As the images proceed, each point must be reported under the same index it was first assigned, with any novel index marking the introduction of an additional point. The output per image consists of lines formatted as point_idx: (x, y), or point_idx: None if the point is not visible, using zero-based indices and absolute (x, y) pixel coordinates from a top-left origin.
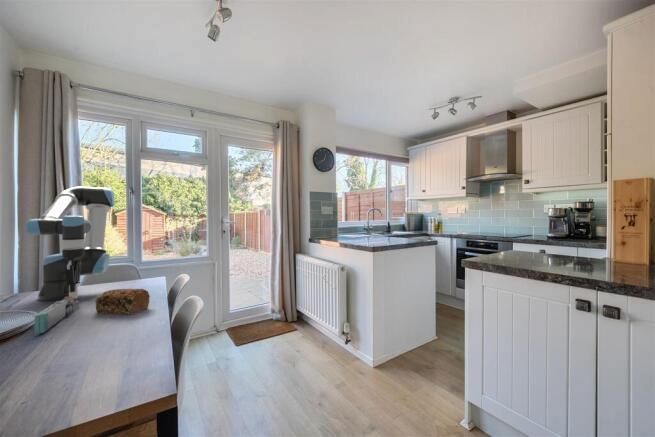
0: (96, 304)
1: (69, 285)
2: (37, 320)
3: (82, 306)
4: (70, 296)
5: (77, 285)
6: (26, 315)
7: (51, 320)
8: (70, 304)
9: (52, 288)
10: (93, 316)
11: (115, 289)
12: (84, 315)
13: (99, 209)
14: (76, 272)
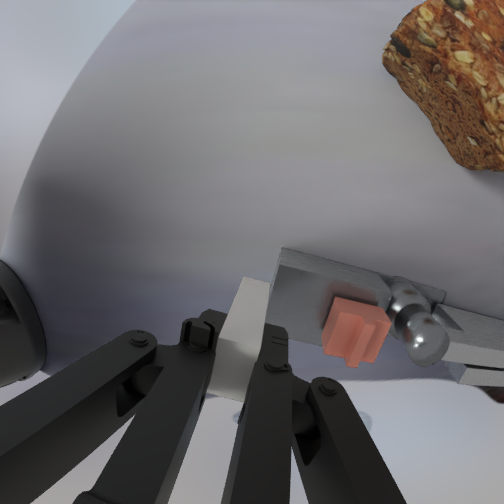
0: (487, 168)
1: (244, 396)
2: None
3: (241, 229)
4: (366, 335)
5: (233, 330)
6: None
7: None
8: (424, 308)
9: (6, 365)
10: (500, 187)
11: (458, 21)
12: (460, 221)
13: None
14: (167, 472)
